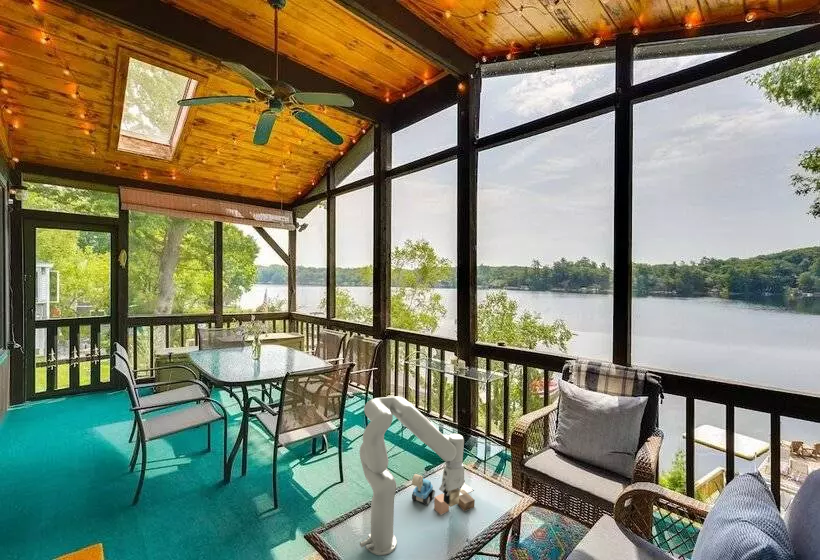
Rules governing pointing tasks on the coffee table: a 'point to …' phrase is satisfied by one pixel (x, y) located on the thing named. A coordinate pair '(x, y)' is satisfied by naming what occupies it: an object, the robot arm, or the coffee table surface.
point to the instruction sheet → (465, 489)
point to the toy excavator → (422, 489)
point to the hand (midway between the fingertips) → (451, 500)
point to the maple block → (453, 497)
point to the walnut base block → (466, 502)
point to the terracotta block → (440, 504)
